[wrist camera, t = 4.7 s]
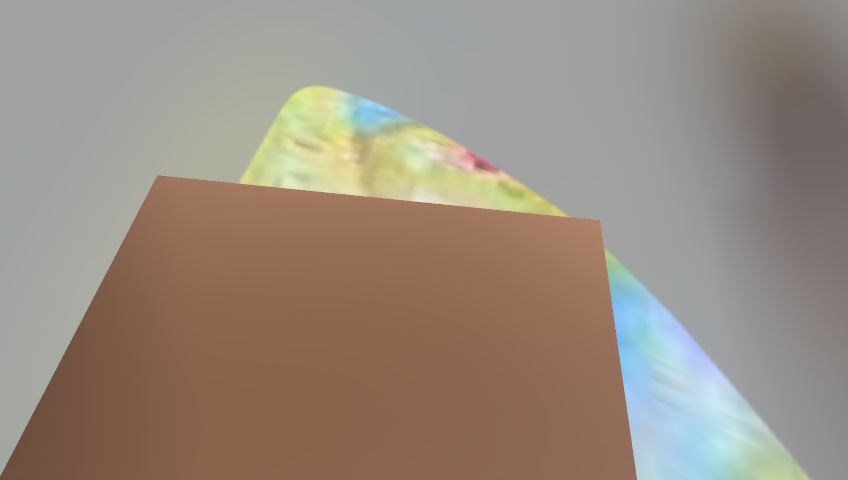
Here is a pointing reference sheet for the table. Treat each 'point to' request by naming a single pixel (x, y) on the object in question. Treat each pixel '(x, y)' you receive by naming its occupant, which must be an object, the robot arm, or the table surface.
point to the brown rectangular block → (338, 346)
